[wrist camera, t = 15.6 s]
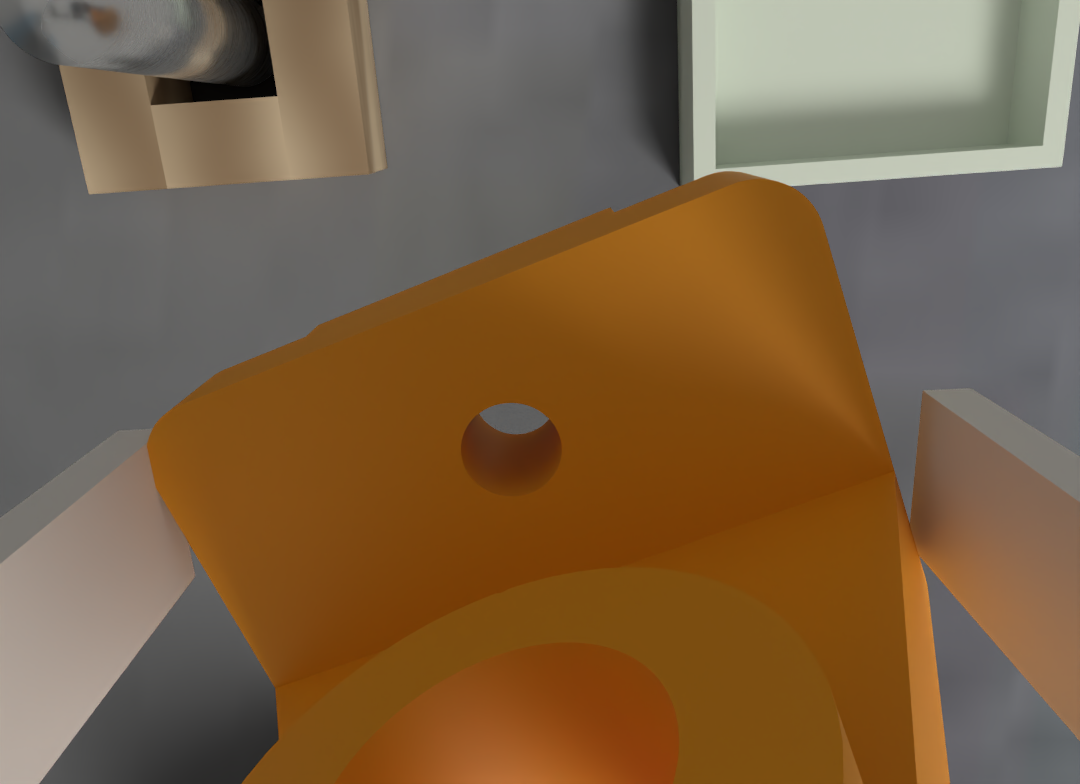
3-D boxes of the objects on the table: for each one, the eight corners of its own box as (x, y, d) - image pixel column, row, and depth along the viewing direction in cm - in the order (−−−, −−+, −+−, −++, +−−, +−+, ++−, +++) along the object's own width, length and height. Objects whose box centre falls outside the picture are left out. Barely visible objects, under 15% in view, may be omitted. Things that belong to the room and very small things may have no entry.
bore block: (139, 185, 33) (88, 194, 29) (78, -97, 30) (14, -128, 26) (387, 168, 33) (369, 174, 29) (352, -117, 30) (327, -151, 26)
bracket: (754, 149, 14) (1724, 281, 3) (864, 510, 16) (1667, 1469, 5) (191, 376, 15) (-858, 1153, 4) (362, 685, 17) (23, 1782, 6)
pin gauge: (205, 89, 32) (5, 70, 20) (189, -1, 31) (-33, -81, 19) (287, 83, 32) (138, 60, 20) (274, -7, 31) (107, -91, 19)
